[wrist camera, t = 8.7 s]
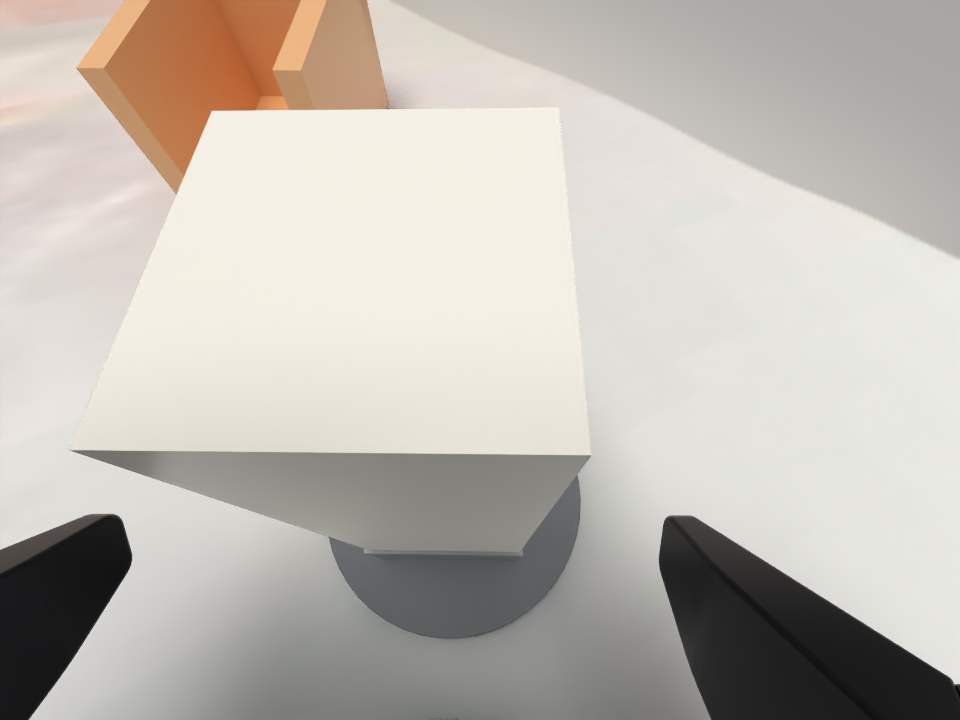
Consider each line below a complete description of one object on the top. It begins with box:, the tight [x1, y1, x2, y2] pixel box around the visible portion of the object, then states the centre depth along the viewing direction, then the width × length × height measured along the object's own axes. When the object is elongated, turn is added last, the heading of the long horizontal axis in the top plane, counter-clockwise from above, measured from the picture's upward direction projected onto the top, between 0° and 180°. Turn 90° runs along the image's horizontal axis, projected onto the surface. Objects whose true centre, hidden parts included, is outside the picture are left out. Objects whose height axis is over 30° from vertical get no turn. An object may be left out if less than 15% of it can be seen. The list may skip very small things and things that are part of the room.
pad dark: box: [329, 475, 581, 638], centre depth 17 cm, size 9×9×1 cm
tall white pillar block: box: [69, 108, 591, 561], centre depth 11 cm, size 5×5×13 cm
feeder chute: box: [77, 0, 388, 194], centre depth 22 cm, size 10×8×8 cm
